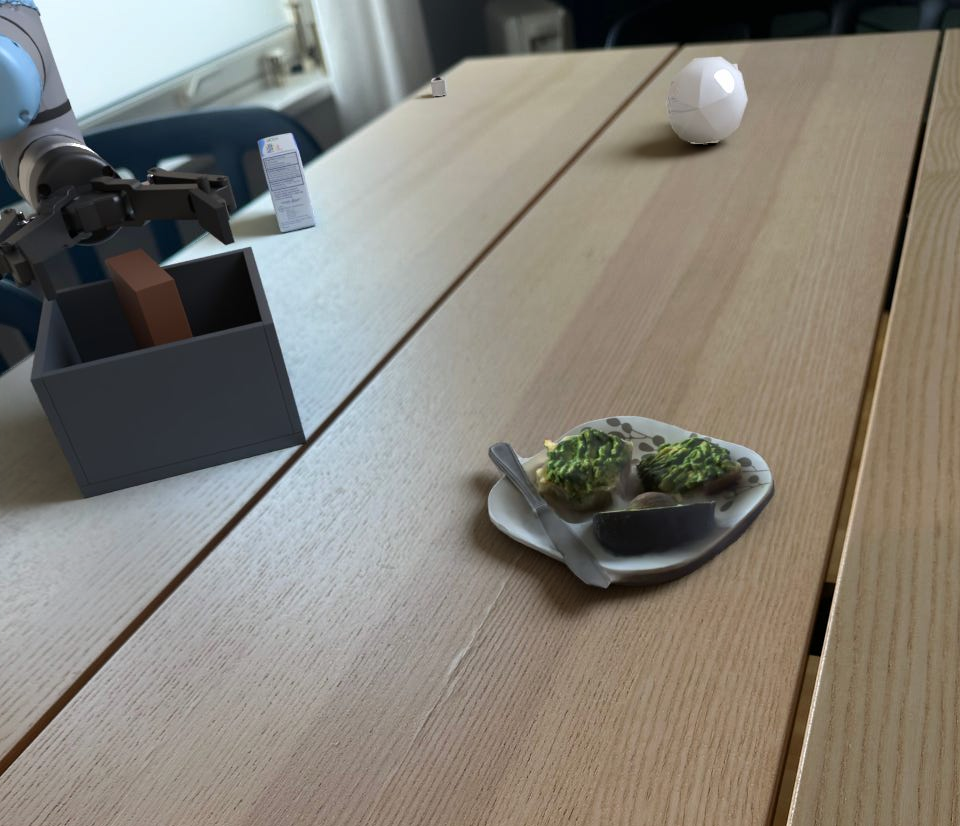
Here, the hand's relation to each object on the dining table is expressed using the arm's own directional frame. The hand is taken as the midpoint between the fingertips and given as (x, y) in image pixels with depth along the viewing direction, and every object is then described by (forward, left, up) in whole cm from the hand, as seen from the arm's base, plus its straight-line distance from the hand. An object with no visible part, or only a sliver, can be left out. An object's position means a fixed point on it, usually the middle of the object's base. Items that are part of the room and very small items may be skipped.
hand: (138, 253), depth 74 cm
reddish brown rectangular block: (-1, +3, -14) cm, 14 cm away
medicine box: (+14, +49, -15) cm, 53 cm away
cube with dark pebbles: (+43, +94, -15) cm, 105 cm away
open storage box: (-1, +3, -15) cm, 15 cm away
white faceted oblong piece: (+66, +46, -15) cm, 82 cm away
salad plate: (+27, -26, -15) cm, 41 cm away
